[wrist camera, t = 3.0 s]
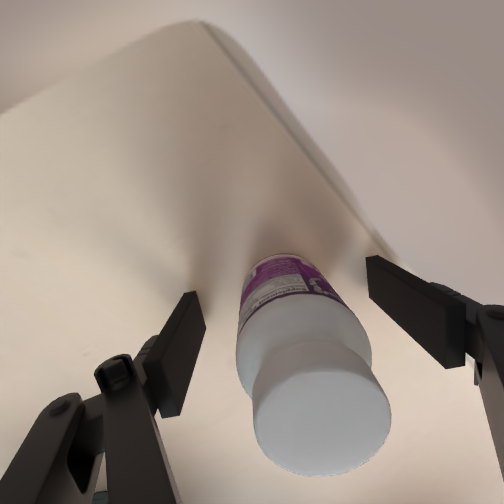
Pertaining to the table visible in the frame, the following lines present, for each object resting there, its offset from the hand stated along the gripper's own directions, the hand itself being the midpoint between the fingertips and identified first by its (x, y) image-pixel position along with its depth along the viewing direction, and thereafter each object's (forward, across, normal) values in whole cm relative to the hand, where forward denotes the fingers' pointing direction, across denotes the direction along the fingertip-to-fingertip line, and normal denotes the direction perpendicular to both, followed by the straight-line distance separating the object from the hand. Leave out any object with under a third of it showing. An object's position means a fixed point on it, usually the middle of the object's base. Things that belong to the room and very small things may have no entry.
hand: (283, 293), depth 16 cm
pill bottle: (+1, 0, 0) cm, 1 cm away
